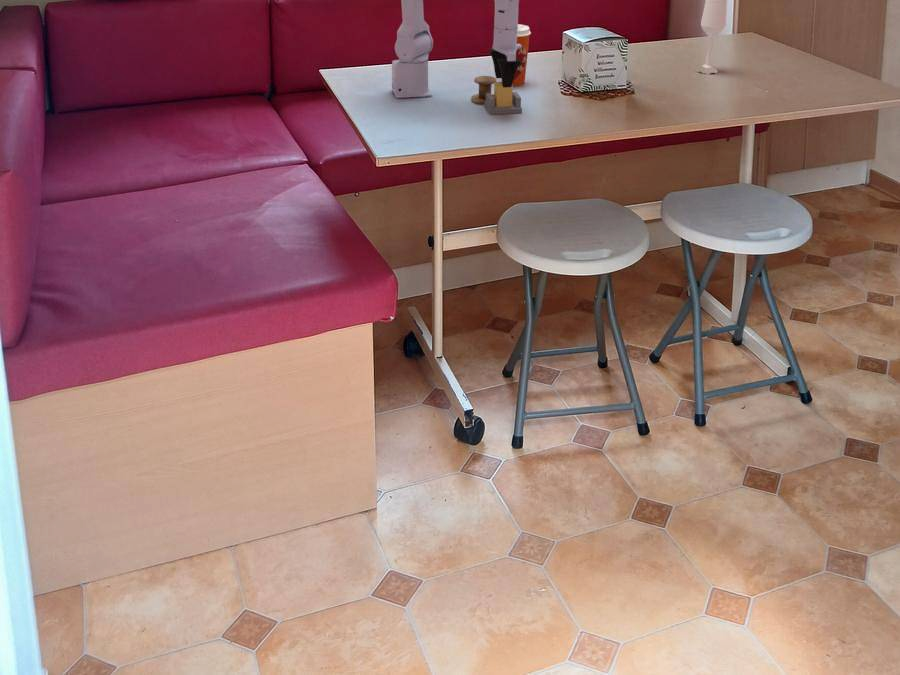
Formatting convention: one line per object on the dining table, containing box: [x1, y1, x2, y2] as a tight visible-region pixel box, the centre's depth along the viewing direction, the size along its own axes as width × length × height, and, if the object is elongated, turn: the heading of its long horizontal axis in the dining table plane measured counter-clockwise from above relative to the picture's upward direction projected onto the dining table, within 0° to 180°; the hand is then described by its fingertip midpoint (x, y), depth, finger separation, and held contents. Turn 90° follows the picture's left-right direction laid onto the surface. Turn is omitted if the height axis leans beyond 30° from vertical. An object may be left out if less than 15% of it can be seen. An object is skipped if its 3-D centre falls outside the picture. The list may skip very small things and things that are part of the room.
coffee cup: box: [513, 23, 532, 87], centre depth 278 cm, size 8×8×15 cm
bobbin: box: [470, 75, 497, 106], centre depth 267 cm, size 7×7×6 cm
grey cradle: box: [484, 91, 523, 116], centre depth 261 cm, size 8×7×4 cm
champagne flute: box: [700, 0, 728, 68], centre depth 288 cm, size 7×7×24 cm
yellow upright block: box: [493, 81, 514, 107], centre depth 260 cm, size 4×3×6 cm
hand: (503, 82), depth 259 cm, fingers open, 7 cm apart
